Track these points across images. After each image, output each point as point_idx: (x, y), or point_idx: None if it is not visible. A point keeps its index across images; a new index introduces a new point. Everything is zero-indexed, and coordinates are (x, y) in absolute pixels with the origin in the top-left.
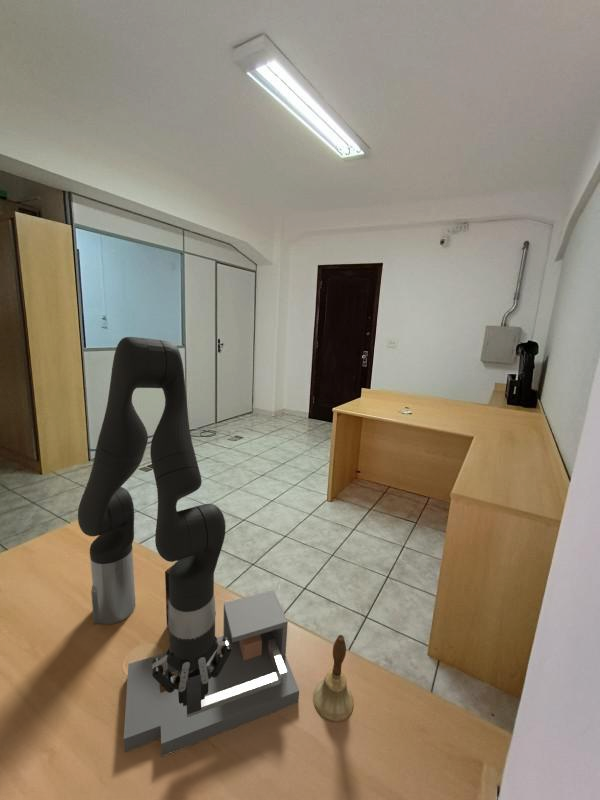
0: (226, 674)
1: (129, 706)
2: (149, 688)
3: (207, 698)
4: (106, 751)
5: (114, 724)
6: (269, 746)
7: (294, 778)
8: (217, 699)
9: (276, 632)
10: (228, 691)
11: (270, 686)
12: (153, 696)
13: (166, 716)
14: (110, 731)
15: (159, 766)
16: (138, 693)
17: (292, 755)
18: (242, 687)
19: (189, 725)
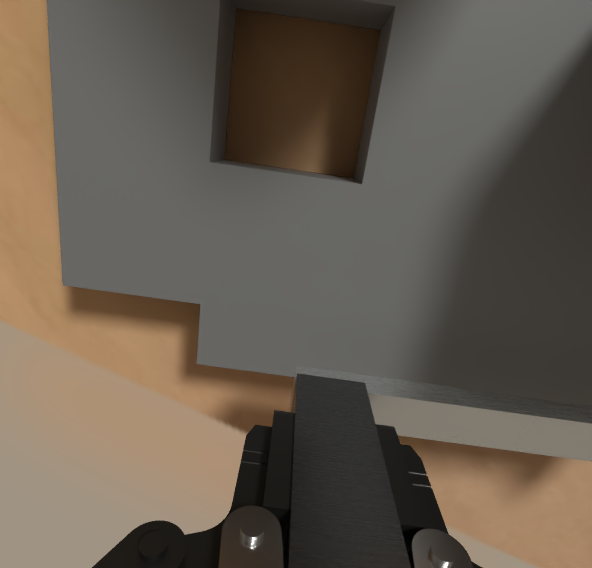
0: (528, 229)
1: (72, 158)
2: (162, 111)
3: (396, 409)
4: (37, 234)
5: (51, 149)
6: (514, 455)
7: (525, 534)
8: (437, 431)
9: None
10: (502, 422)
11: None
12: (179, 165)
13: (226, 282)
14: (40, 169)
15: None
16: (109, 111)
17: (555, 498)
18: (572, 438)
19: (303, 355)
